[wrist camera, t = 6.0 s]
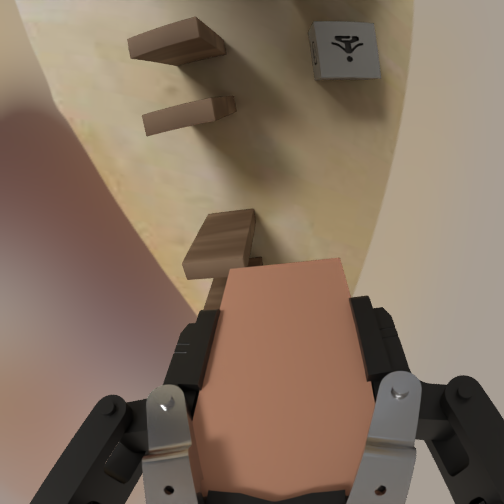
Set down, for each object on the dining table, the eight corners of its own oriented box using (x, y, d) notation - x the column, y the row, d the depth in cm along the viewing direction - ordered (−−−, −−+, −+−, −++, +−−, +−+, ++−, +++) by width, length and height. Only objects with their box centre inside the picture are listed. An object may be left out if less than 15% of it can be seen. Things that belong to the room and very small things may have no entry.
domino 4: (219, 260, 35) (200, 318, 27) (261, 256, 34) (254, 316, 26) (222, 271, 36) (205, 330, 27) (263, 268, 35) (257, 328, 27)
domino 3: (208, 214, 32) (182, 263, 24) (253, 208, 32) (242, 258, 23) (211, 227, 33) (187, 279, 25) (255, 222, 32) (246, 275, 24)
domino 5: (229, 268, 14) (175, 494, 5) (339, 257, 13) (387, 492, 4) (236, 295, 15) (196, 505, 6) (340, 285, 14) (375, 503, 5)
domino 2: (184, 106, 26) (141, 115, 18) (233, 95, 26) (210, 97, 17) (187, 120, 27) (146, 136, 19) (236, 111, 26) (215, 120, 18)
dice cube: (358, 33, 21) (373, 23, 17) (364, 79, 24) (380, 78, 19) (308, 32, 22) (313, 21, 18) (314, 80, 24) (321, 77, 20)
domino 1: (174, 52, 24) (127, 39, 15) (223, 39, 23) (195, 16, 14) (176, 66, 24) (130, 58, 16) (226, 54, 24) (199, 36, 15)
